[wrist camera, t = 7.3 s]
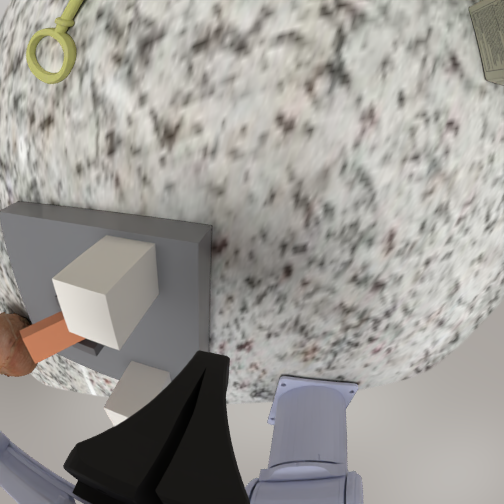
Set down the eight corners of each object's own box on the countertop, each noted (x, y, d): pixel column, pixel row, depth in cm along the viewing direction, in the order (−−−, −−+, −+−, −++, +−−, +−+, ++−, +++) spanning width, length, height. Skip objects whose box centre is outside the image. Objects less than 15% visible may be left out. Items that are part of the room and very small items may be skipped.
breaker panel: (209, 383, 29) (196, 421, 24) (54, 332, 31) (33, 355, 26) (211, 225, 20) (187, 258, 16) (18, 201, 22) (-16, 219, 18)
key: (122, -42, 11) (108, -50, 9) (72, 86, 17) (55, 86, 15) (67, -32, 11) (53, -37, 9) (27, 80, 17) (11, 82, 15)
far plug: (173, 395, 26) (153, 442, 21) (138, 384, 26) (115, 428, 21) (169, 372, 24) (145, 423, 19) (131, 360, 25) (103, 407, 19)
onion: (45, 333, 37) (20, 382, 31) (3, 297, 32) (-24, 348, 26) (57, 341, 31) (28, 400, 25) (4, 298, 26) (-28, 360, 20)
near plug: (159, 293, 20) (119, 350, 15) (113, 282, 20) (69, 331, 15) (155, 243, 18) (105, 294, 13) (106, 235, 19) (51, 278, 13)
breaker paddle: (88, 337, 22) (35, 363, 18) (82, 330, 23) (31, 355, 19) (79, 311, 21) (22, 338, 17) (75, 304, 22) (19, 330, 17)
